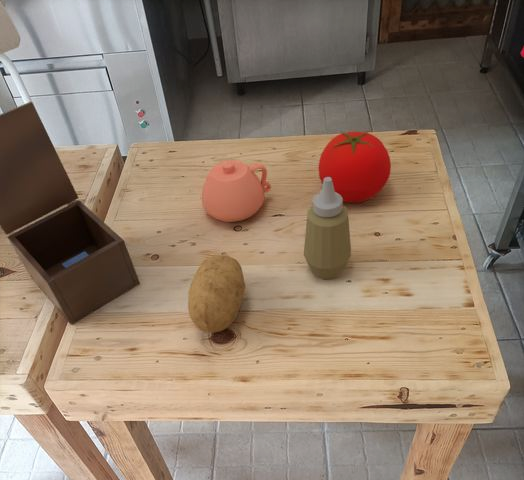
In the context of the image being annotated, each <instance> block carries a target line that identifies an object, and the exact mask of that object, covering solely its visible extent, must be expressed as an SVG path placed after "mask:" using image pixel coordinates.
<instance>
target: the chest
mask: <svg viewBox="0 0 524 480" xmlns="http://www.w3.org/2000/svg"><path fill="white" fill-rule="evenodd" d="M7 239H8V241H9V243H10V244H11V246H12V248H13V250H14V251H15V252H16V254H17V256H18V257H19V260H20V262H22V264H23V266H24V268H25V269H26V271H27V273H28V275H29V277H30V278H31V279H32V280H33V282H34V283H35V284H36V286H38V288H39V289H40V290H41V292H43V294H44V295H45V296H46V297H47V298H48V299H49V301H50V302H51V303H52V304H53V306H54V307H55V308H56V309H57V310H58V312H59V313H60V314H61V315H62V316H63V317H64V319H65V320H66V321H67V322H68V323H69V324H70V325H71V326H72V325H73V324H75V323H77V322H79V321H80V320H82V319H84V318H85V317H87V316H89V315H90V314H92V313H93V312H95V311H97V310H99V309H100V308H102V307H104V306H105V305H107V304H109V303H110V302H112V301H114V300H116V299H117V298H119V297H120V296H122V295H124V294H125V293H126V292H128V291H130V290H132V289H133V288H135V287H137V286H139V285H140V284H141V282H140V280H139V276H138V275H137V272H136V271H137V270H136V269H135V266H134V263H133V261H132V258H131V256H130V252H129V249H128V248H127V245H126V242H125V240H124V239H123V238H122V237H121V236H120V235H119V234H118V233H117V232H115V231H114V230H113V229H112V228H111V227H109V225H107V223H106V222H105V221H103V220H102V219H101V218H99V217H98V215H96V214H95V213H94V212H93V211H92V210H91V209H90V208H88V207H87V206H86V204H84V203H83V202H82V201H81V200H80V199H77V200H75V201H73V202H71V203H69V204H67V205H65V206H63V207H61V208H59V209H57V210H55V211H53V212H51V213H49V214H47V215H45V216H43V217H41V218H39V219H38V220H37V221H34V222H33V223H30V224H28V225H26V226H24V227H22V228H20V229H18V230H16V231H14V232H12V234H11V233H10V234H8V236H7ZM84 251H85V252H86V253H87V254H88V255H89V256H87V257H85V258H83V259H81V260H80V261H78V262H76V263H74V264H72V265H71V266H69V267H67V268H65V269H64V267H63V265H62V263H64V262H66V261H68V260H70V259H71V258H73V257H75V256H77V255H79V254H81V253H82V252H84Z"/></svg>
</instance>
